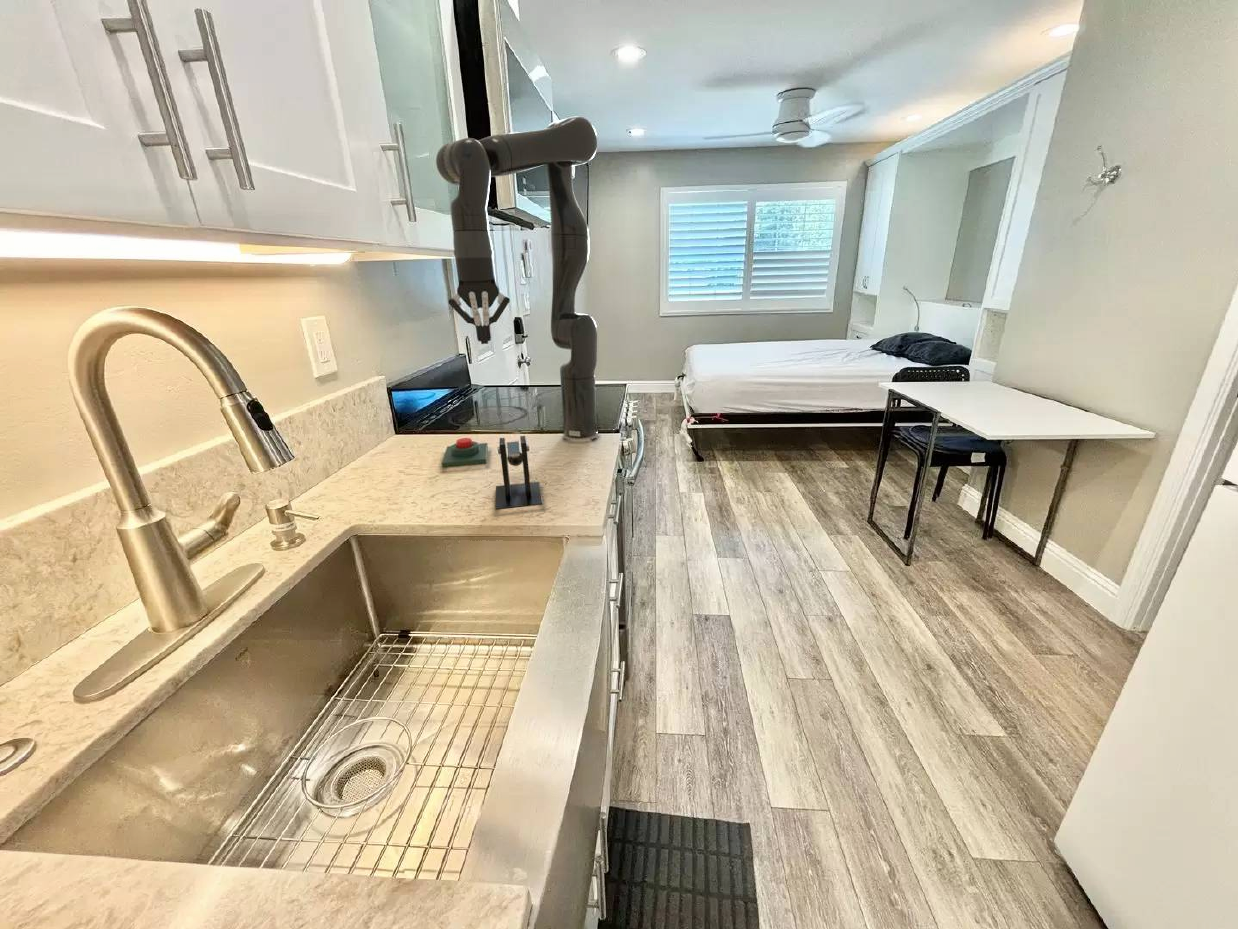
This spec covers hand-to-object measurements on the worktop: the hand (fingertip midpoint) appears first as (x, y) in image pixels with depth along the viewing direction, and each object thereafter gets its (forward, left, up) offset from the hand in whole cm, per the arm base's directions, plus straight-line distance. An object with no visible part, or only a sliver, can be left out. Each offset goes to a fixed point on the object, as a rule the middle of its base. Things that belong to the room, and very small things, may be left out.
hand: (484, 343), depth 106 cm
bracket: (+19, +4, -29) cm, 35 cm away
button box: (-7, -8, -29) cm, 31 cm away
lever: (+15, +4, -22) cm, 27 cm away
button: (-7, -8, -25) cm, 28 cm away
